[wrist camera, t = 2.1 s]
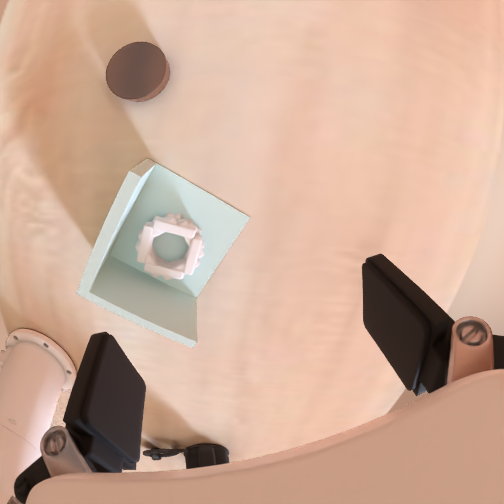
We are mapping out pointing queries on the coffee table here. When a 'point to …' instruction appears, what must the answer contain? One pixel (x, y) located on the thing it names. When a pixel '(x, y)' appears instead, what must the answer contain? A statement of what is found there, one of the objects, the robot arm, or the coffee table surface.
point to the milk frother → (194, 455)
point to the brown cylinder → (138, 72)
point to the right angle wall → (159, 251)
